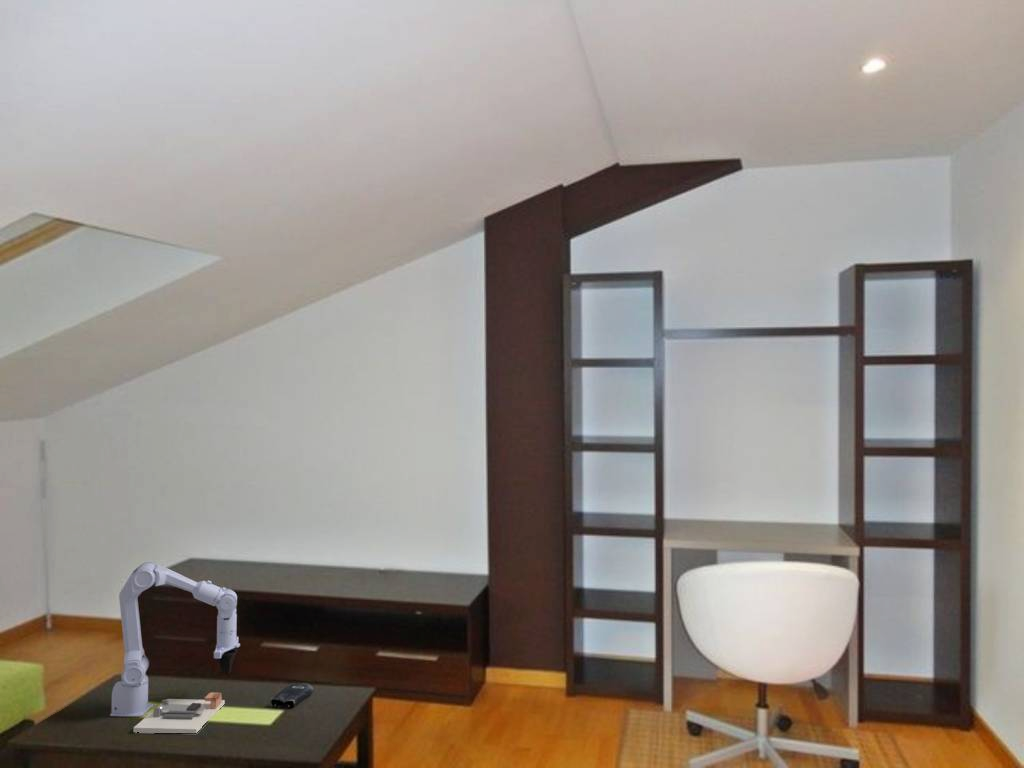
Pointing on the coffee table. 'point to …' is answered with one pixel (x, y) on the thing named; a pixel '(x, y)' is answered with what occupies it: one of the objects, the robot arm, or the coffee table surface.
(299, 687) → the electronic device
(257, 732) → the coffee table surface
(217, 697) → the block
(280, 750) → the coffee table surface
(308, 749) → the coffee table surface
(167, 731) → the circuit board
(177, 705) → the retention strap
